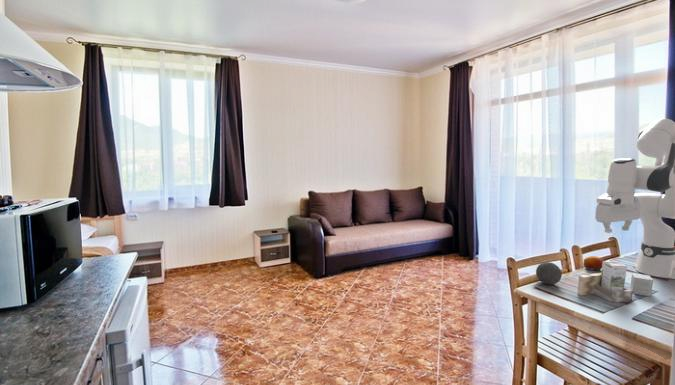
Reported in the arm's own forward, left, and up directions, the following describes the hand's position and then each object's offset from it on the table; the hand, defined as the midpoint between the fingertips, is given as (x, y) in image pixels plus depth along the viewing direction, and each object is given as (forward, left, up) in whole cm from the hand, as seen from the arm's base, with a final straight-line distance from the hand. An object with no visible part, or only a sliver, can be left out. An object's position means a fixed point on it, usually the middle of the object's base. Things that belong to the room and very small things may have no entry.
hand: (616, 231), depth 141 cm
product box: (-14, +2, -28) cm, 31 cm away
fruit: (-21, -24, -28) cm, 43 cm away
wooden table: (+2, +1, -27) cm, 27 cm away
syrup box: (+2, +1, -28) cm, 28 cm away
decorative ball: (+16, -16, -28) cm, 36 cm away
